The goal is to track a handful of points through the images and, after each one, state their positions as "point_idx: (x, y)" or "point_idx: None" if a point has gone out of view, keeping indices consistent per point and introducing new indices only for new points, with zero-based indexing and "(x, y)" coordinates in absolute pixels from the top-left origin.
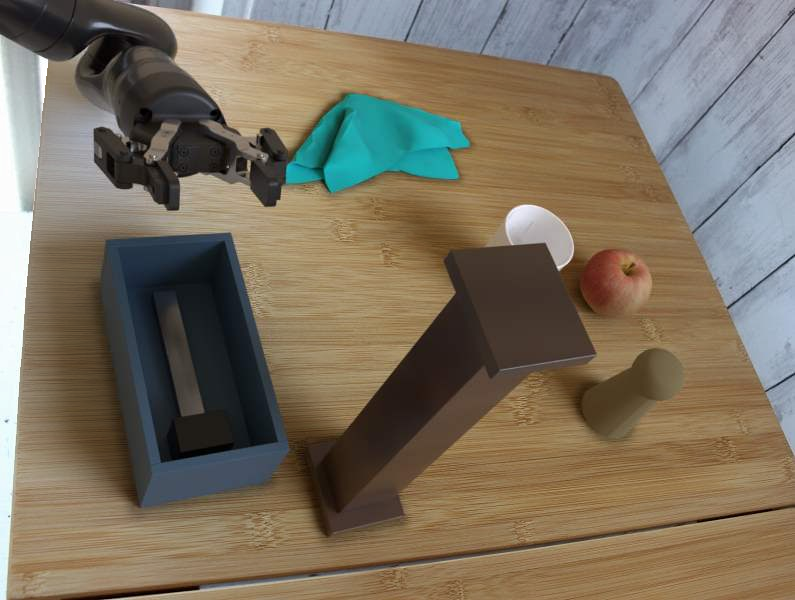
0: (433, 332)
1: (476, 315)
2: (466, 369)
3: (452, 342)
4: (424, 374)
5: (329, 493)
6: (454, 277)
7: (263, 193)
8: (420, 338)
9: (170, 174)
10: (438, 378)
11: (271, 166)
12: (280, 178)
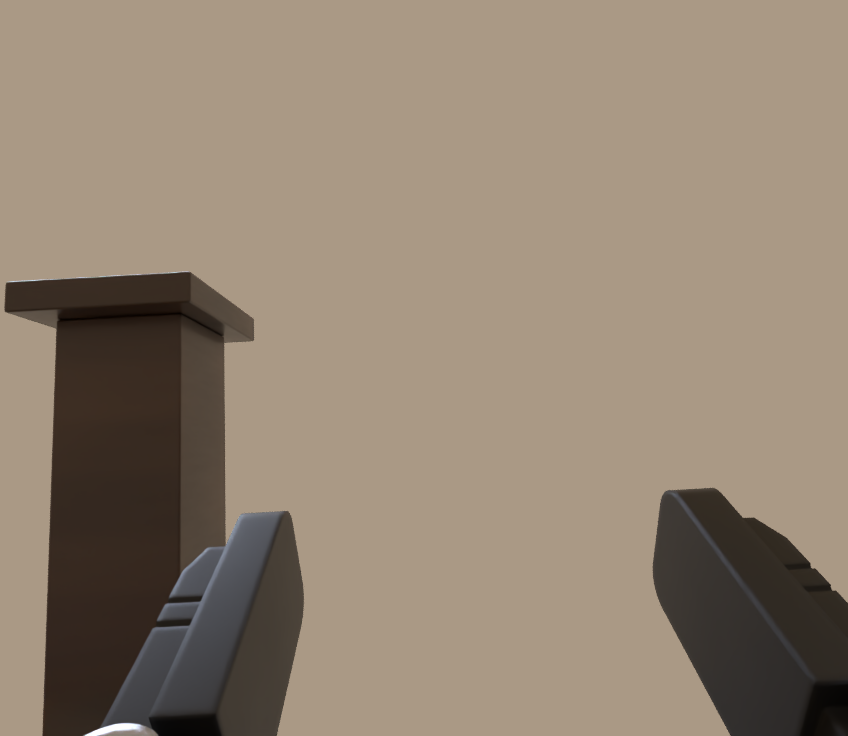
0: (187, 446)
1: (230, 302)
2: (219, 403)
3: (203, 407)
4: (202, 516)
5: None
6: (206, 298)
7: (288, 608)
8: (181, 493)
9: (725, 528)
10: (211, 478)
11: (106, 717)
12: (189, 574)
